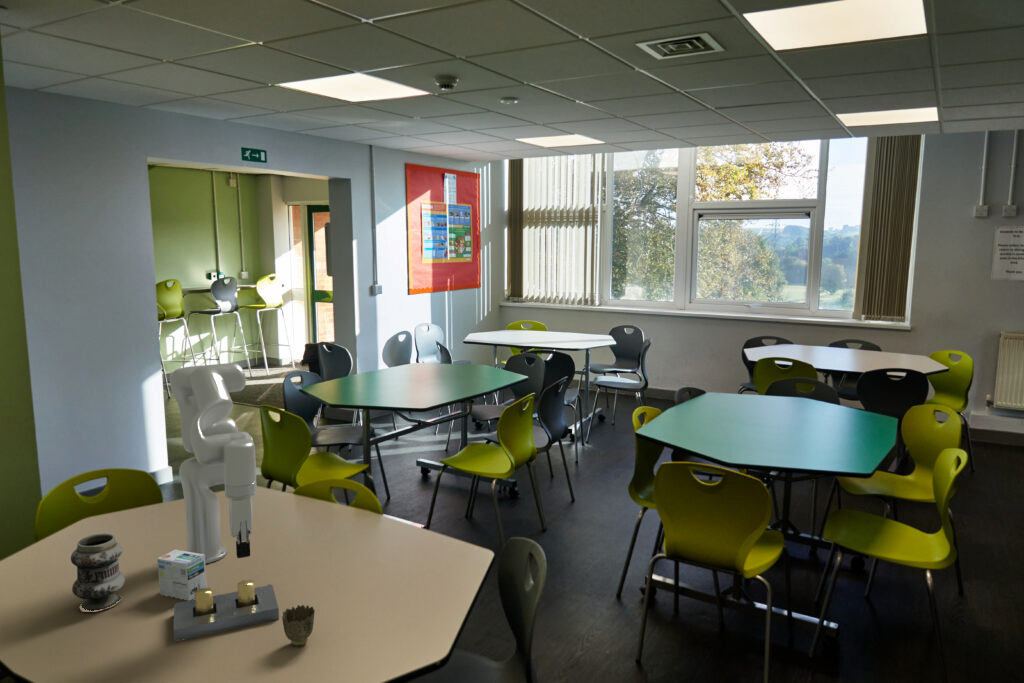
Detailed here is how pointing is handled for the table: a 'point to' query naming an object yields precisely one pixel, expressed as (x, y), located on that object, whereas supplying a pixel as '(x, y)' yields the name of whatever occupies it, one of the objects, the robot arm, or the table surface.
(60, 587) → the table surface
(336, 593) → the table surface
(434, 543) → the table surface
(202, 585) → the light bulb box
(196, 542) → the robot arm
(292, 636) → the cup
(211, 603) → the seated bushing
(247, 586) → the brass cylinder
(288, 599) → the table surface
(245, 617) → the jig
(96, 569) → the apothecary jar
